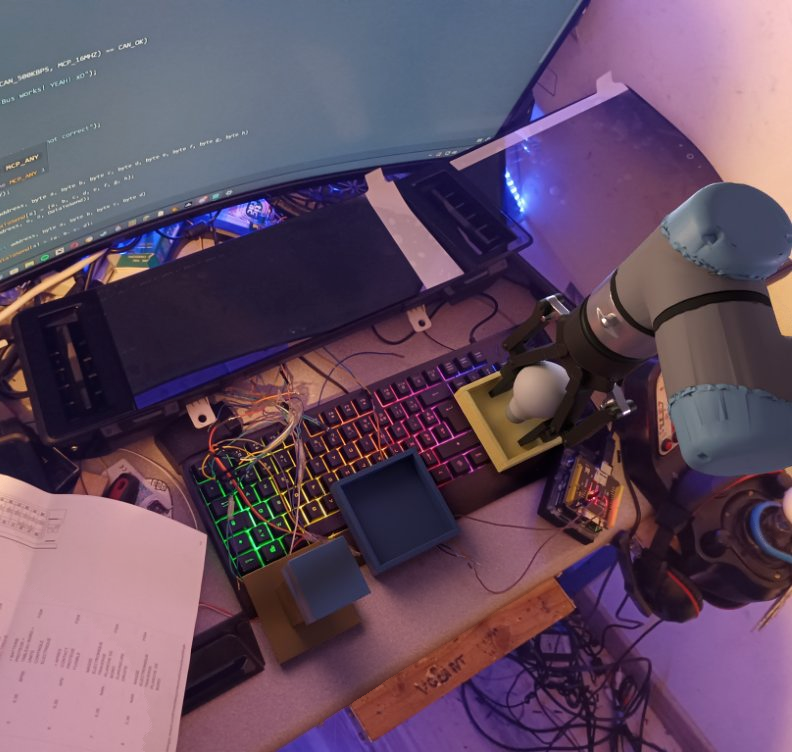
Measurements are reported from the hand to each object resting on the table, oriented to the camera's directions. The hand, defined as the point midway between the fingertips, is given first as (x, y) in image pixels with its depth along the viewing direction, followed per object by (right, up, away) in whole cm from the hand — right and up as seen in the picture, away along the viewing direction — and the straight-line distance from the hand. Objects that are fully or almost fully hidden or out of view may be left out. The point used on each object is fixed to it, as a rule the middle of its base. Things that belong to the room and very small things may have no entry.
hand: (513, 414), depth 83 cm
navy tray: (-15, -10, -6) cm, 19 cm away
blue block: (-23, -13, -21) cm, 34 cm away
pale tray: (0, 0, +1) cm, 1 cm away
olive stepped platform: (-25, -18, -11) cm, 33 cm away
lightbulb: (0, 0, 0) cm, 0 cm away
